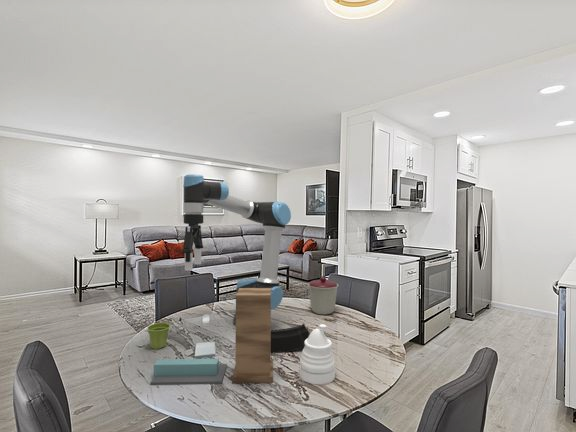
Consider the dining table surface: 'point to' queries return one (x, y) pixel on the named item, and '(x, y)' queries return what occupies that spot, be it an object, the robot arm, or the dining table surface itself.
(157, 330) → the plant pot
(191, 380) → the pad
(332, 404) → the dining table surface
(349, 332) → the dining table surface
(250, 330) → the stand
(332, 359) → the honey pot
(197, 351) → the hard drive
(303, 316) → the dining table surface
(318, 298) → the canister
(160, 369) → the teal square bar
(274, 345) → the magazine
